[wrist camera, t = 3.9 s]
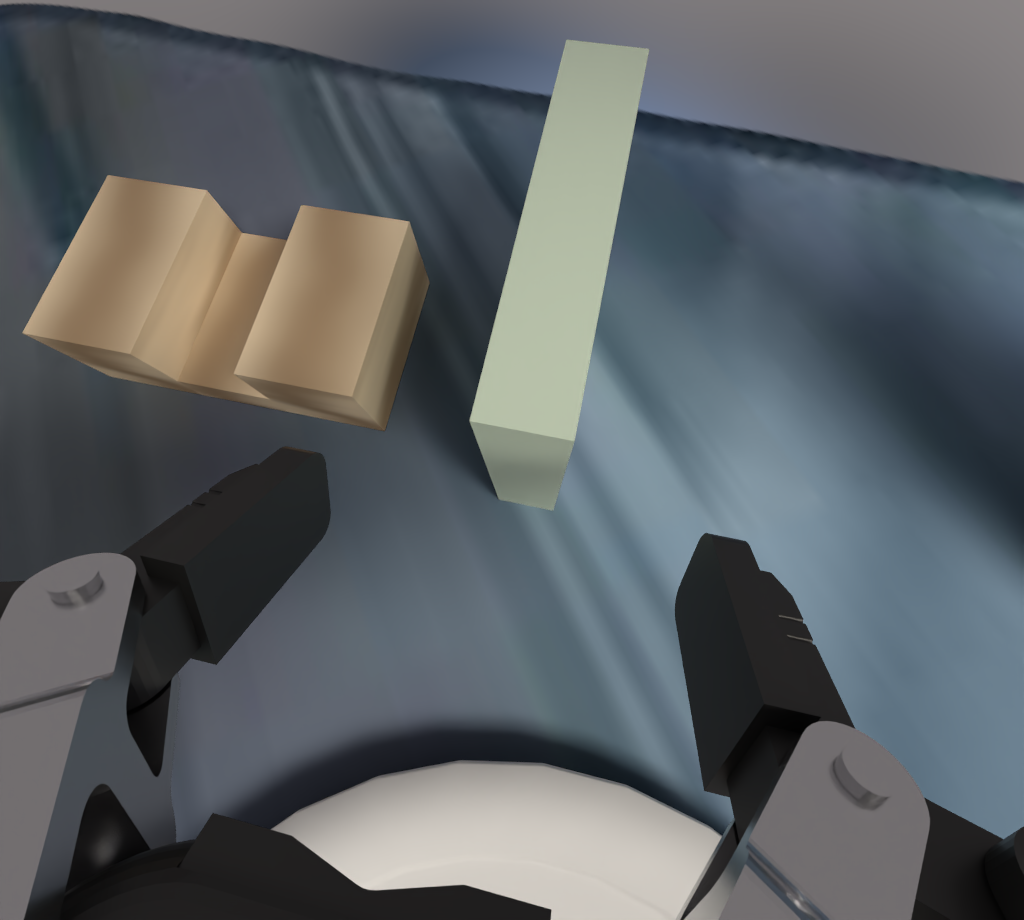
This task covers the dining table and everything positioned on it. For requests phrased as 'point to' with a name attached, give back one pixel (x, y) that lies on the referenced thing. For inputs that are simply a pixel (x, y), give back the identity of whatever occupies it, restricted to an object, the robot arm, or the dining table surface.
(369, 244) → the slotted maple beam
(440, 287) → the dining table surface
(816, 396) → the dining table surface
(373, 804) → the plated food
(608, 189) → the sage plate
